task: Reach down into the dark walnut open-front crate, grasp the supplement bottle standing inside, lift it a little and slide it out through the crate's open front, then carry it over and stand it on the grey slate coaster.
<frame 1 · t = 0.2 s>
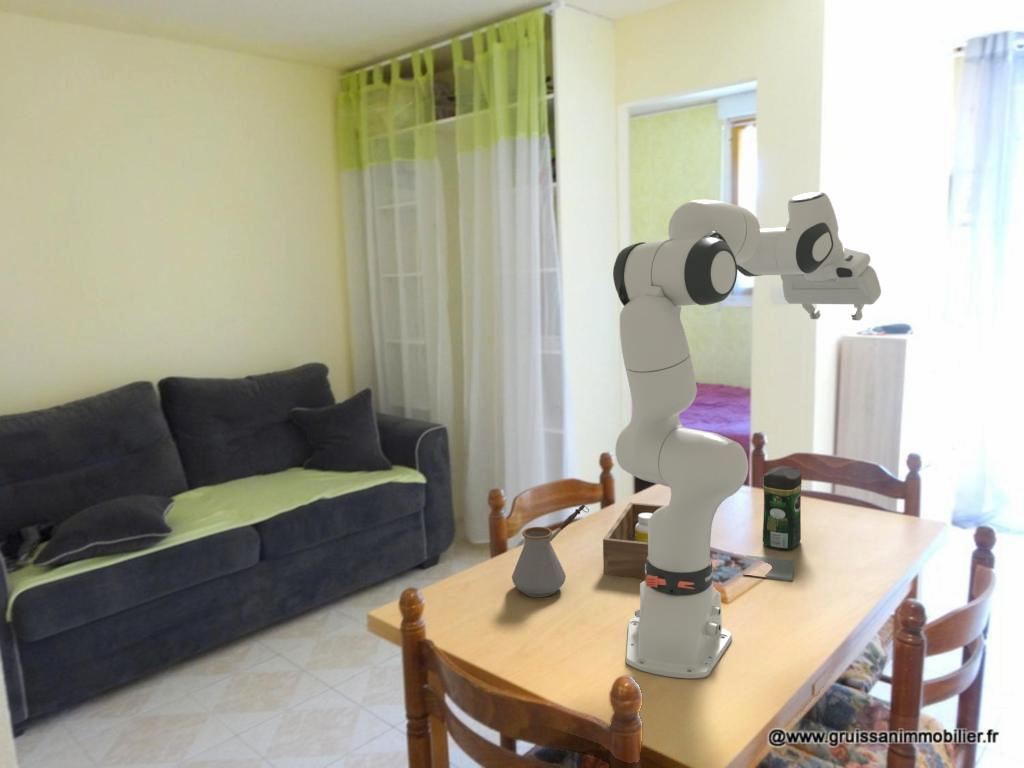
hand: (836, 318, 162), 54 cm above the table, tool tilted 30°, fingers open, 8 cm apart
supplement bottle: (647, 556, 172), resting in crate
coaster: (768, 568, 161), on the table
coffee jar: (781, 544, 175), on the table
crate: (647, 555, 172), on the table
coffee pot: (555, 582, 159), on the table
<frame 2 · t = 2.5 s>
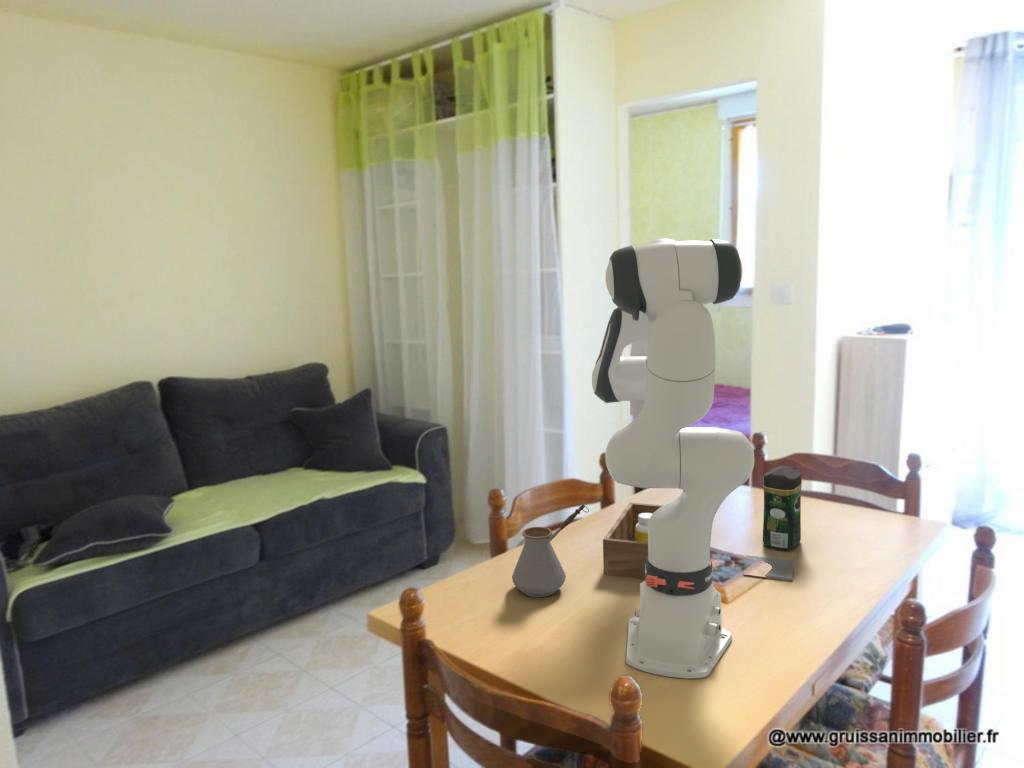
hand: (650, 465, 169), 22 cm above the table, tool pointing down, fingers open, 8 cm apart
nothing on the table moved.
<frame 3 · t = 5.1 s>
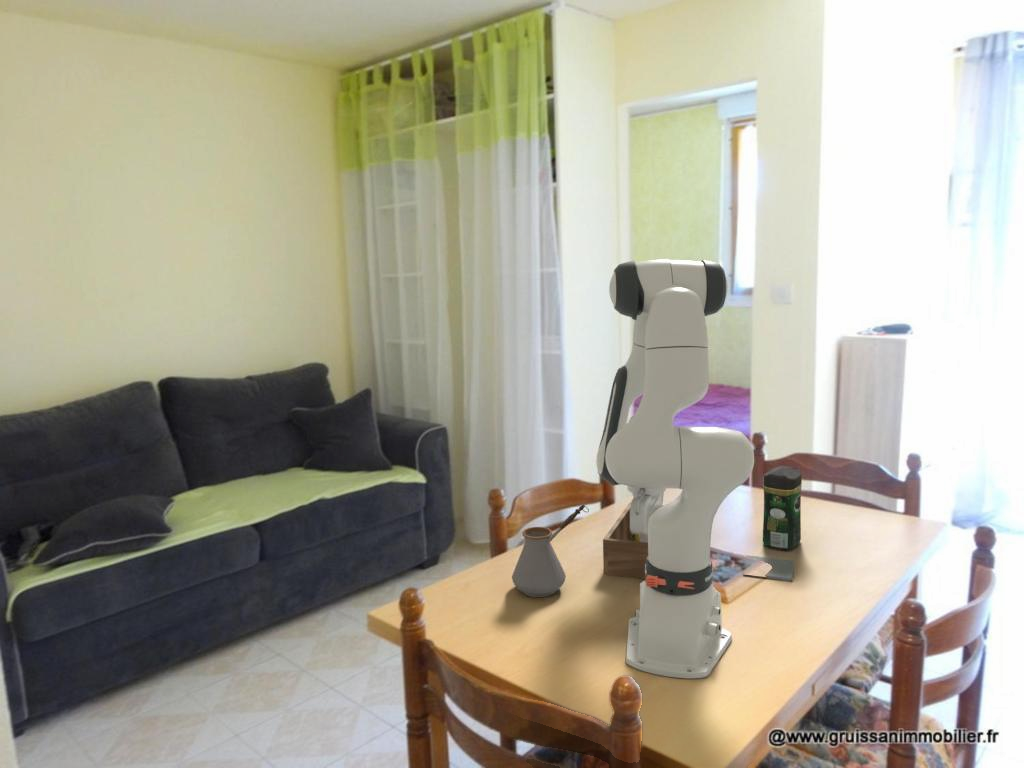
hand: (647, 539, 171), 4 cm above the table, tool pointing down, fingers closed on supplement bottle, 5 cm apart
supplement bottle: (647, 556, 172), resting in crate, touching gripper
everything else where it was.
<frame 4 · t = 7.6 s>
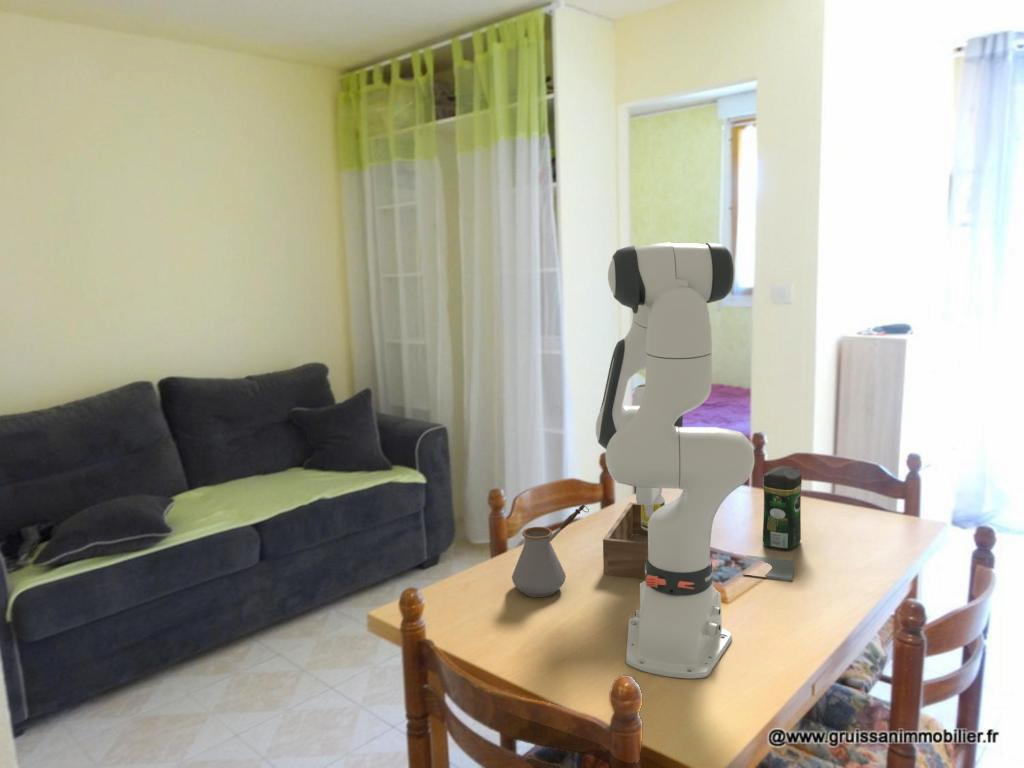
hand: (652, 511, 169), 11 cm above the table, tool pointing down, fingers closed on supplement bottle, 5 cm apart
supplement bottle: (652, 528, 170), point 7 cm above the table, touching gripper
everything else where it was.
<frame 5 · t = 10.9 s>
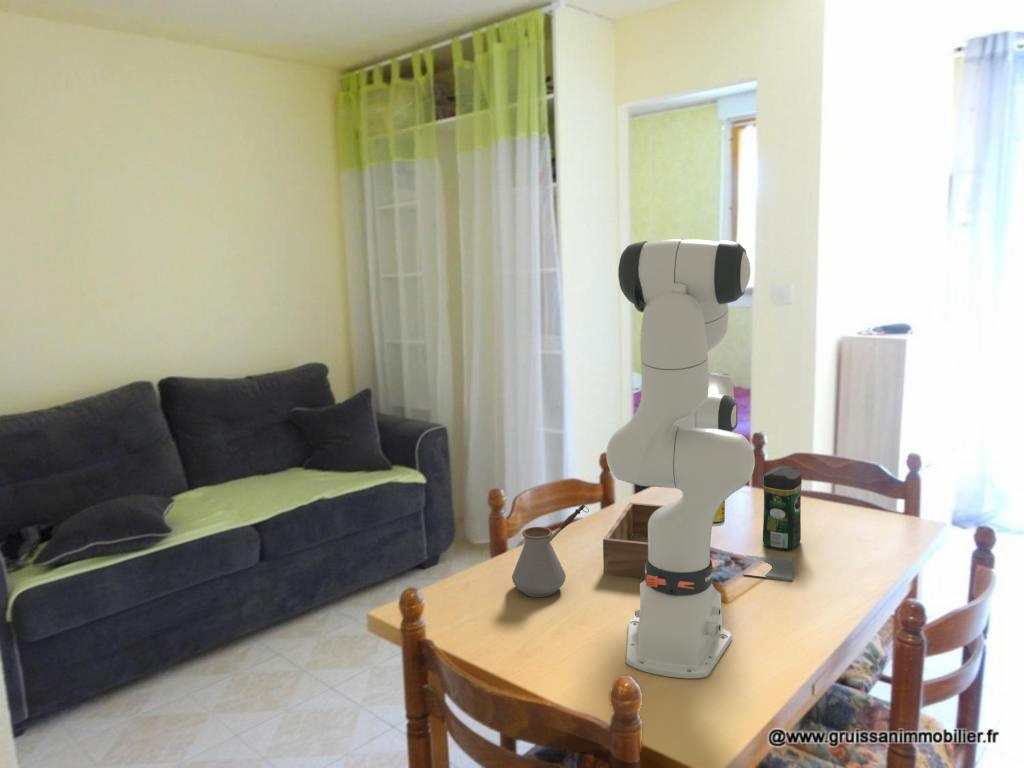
hand: (712, 505, 163), 14 cm above the table, tool pointing down, fingers closed on supplement bottle, 5 cm apart
supplement bottle: (712, 523, 164), point 9 cm above the table, touching gripper
everything else where it was.
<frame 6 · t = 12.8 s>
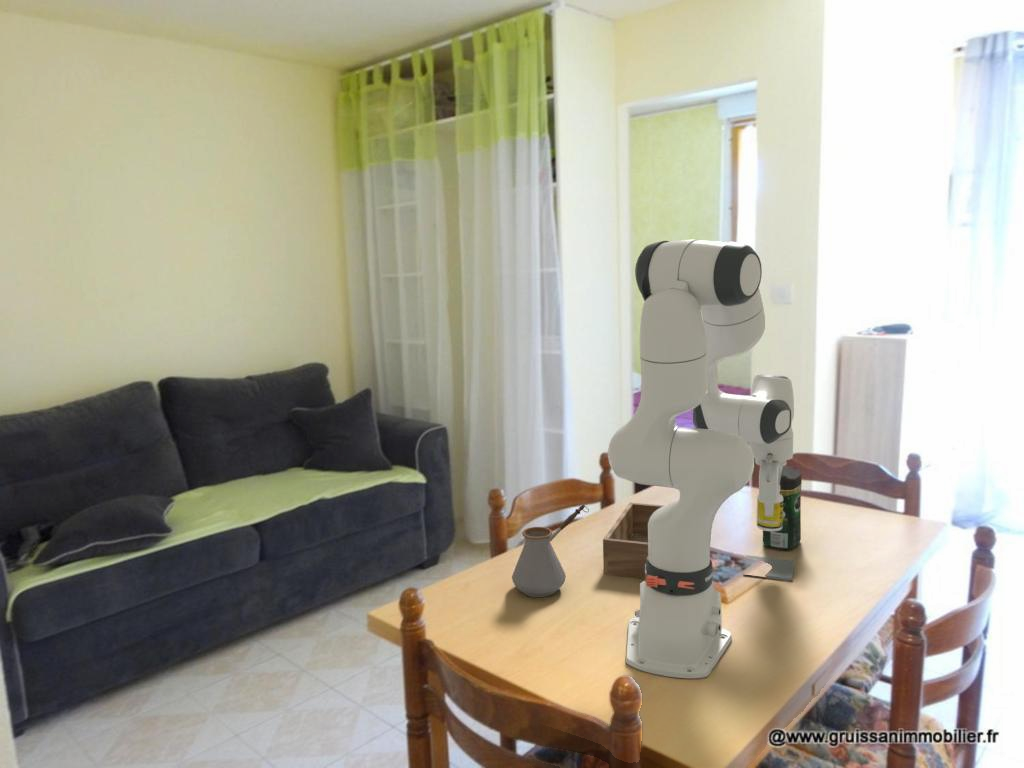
hand: (770, 509, 159), 14 cm above the table, tool pointing down, fingers closed on supplement bottle, 5 cm apart
supplement bottle: (769, 528, 160), point 9 cm above the table, touching gripper
everything else where it was.
when the fingers open (6 cm above the table, at t = 14.6 s): supplement bottle stays where it is, resting on coaster.
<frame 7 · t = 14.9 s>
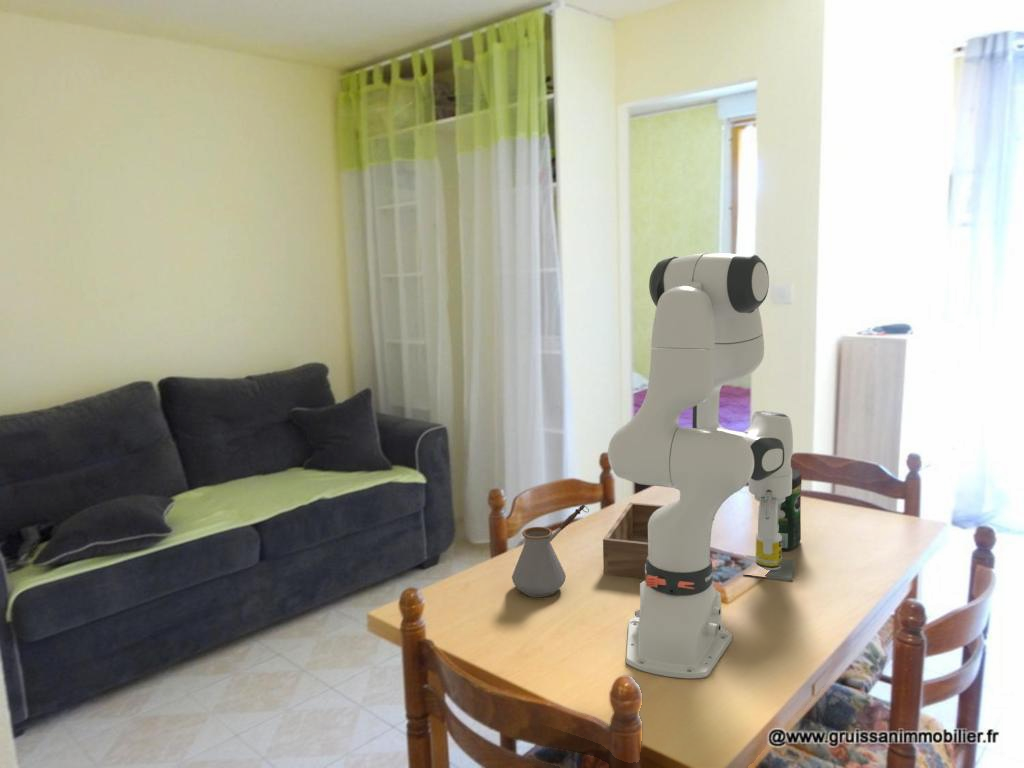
hand: (769, 545, 160), 6 cm above the table, tool pointing down, fingers open, 8 cm apart
supplement bottle: (768, 567, 161), resting on coaster
everything else where it was.
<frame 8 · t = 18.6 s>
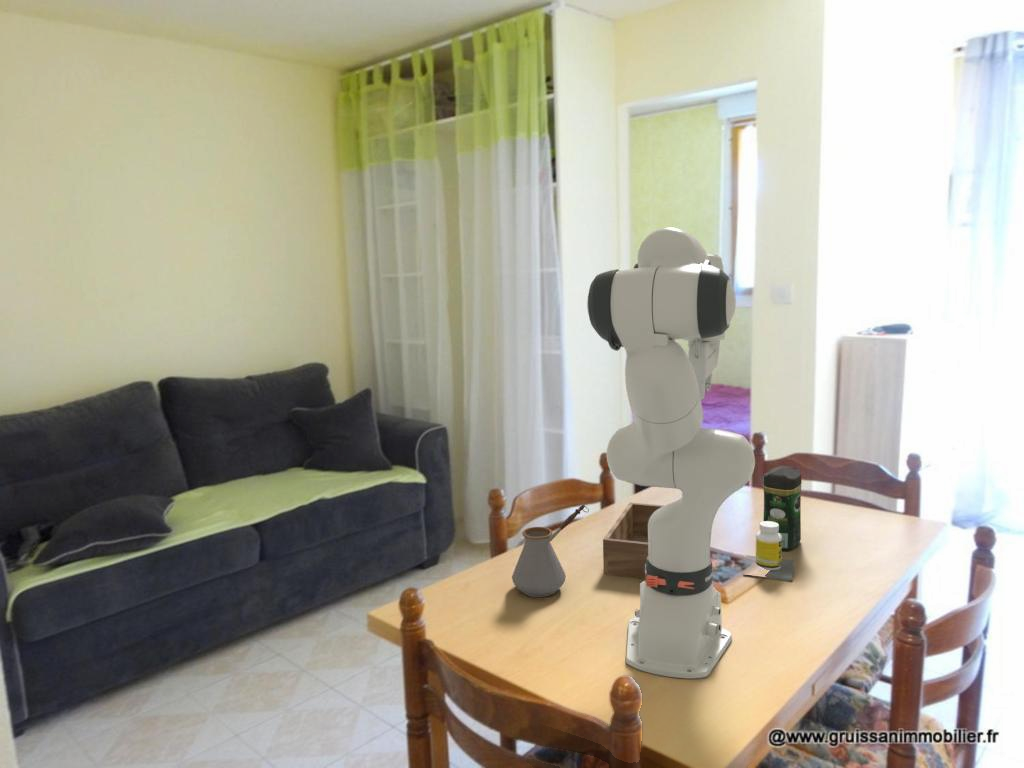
hand: (703, 394, 158), 39 cm above the table, tool pointing down, fingers open, 8 cm apart
nothing on the table moved.
at the end: supplement bottle inside the target area on the coaster (0.1 cm from its centre), point 0.4 cm above the coaster's base; supplement bottle tilted 0°; the gripper is holding nothing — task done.
